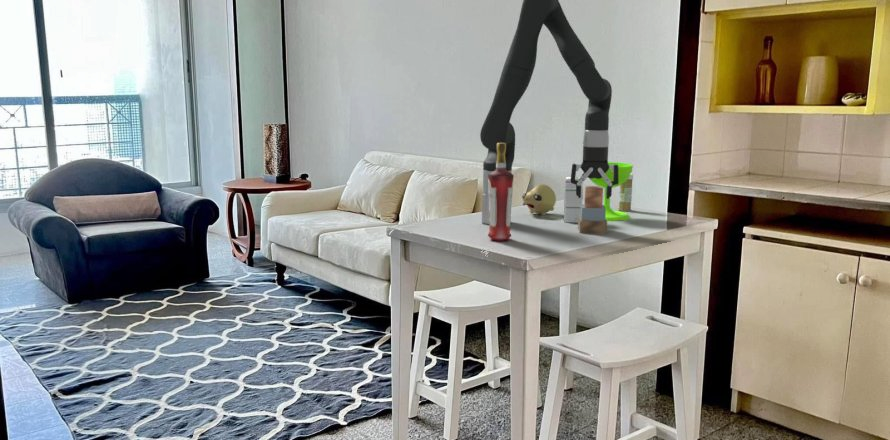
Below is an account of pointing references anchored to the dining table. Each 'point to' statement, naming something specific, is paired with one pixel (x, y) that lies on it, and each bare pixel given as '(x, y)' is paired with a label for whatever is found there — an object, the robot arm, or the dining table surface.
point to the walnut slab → (592, 226)
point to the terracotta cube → (593, 196)
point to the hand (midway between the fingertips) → (593, 197)
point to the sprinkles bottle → (625, 195)
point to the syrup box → (572, 201)
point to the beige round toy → (540, 199)
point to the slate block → (593, 213)
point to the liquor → (500, 198)
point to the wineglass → (623, 175)
